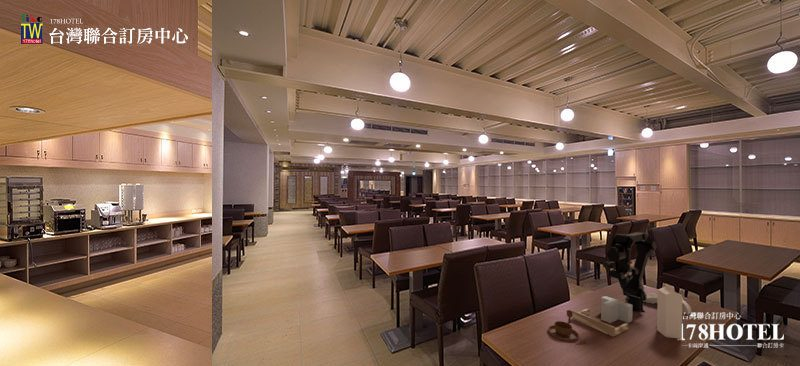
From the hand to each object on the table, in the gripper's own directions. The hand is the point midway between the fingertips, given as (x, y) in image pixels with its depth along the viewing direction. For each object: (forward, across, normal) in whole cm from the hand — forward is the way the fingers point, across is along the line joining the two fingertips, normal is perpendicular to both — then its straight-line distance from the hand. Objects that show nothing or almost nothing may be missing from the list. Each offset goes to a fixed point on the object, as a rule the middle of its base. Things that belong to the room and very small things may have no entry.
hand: (622, 288), depth 146 cm
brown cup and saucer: (+14, +42, -2) cm, 45 cm away
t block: (+13, +10, 0) cm, 17 cm away
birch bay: (+13, +22, 0) cm, 25 cm away
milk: (+13, +4, +20) cm, 24 cm away
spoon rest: (+14, -31, +5) cm, 34 cm away
